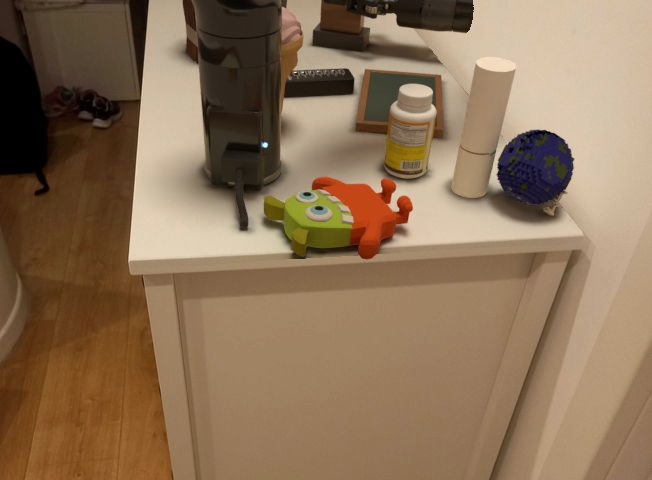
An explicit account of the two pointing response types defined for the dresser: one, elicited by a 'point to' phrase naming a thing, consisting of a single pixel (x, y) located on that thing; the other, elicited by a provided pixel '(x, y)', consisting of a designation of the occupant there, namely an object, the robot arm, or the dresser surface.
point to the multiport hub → (319, 82)
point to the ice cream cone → (289, 46)
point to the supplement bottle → (410, 132)
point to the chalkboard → (393, 98)
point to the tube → (482, 125)
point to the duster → (340, 29)
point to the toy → (339, 215)
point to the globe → (536, 168)
